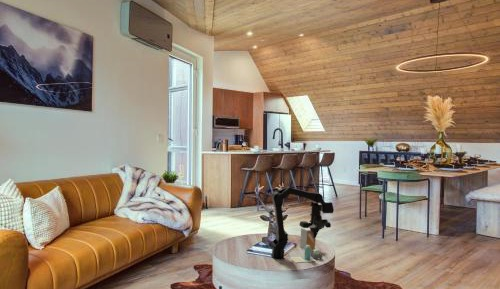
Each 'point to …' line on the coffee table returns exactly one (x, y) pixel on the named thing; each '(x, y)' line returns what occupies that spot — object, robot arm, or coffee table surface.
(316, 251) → the button
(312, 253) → the frame
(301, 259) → the colouring sheet
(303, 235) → the small box
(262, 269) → the coffee table surface
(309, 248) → the teal marker
